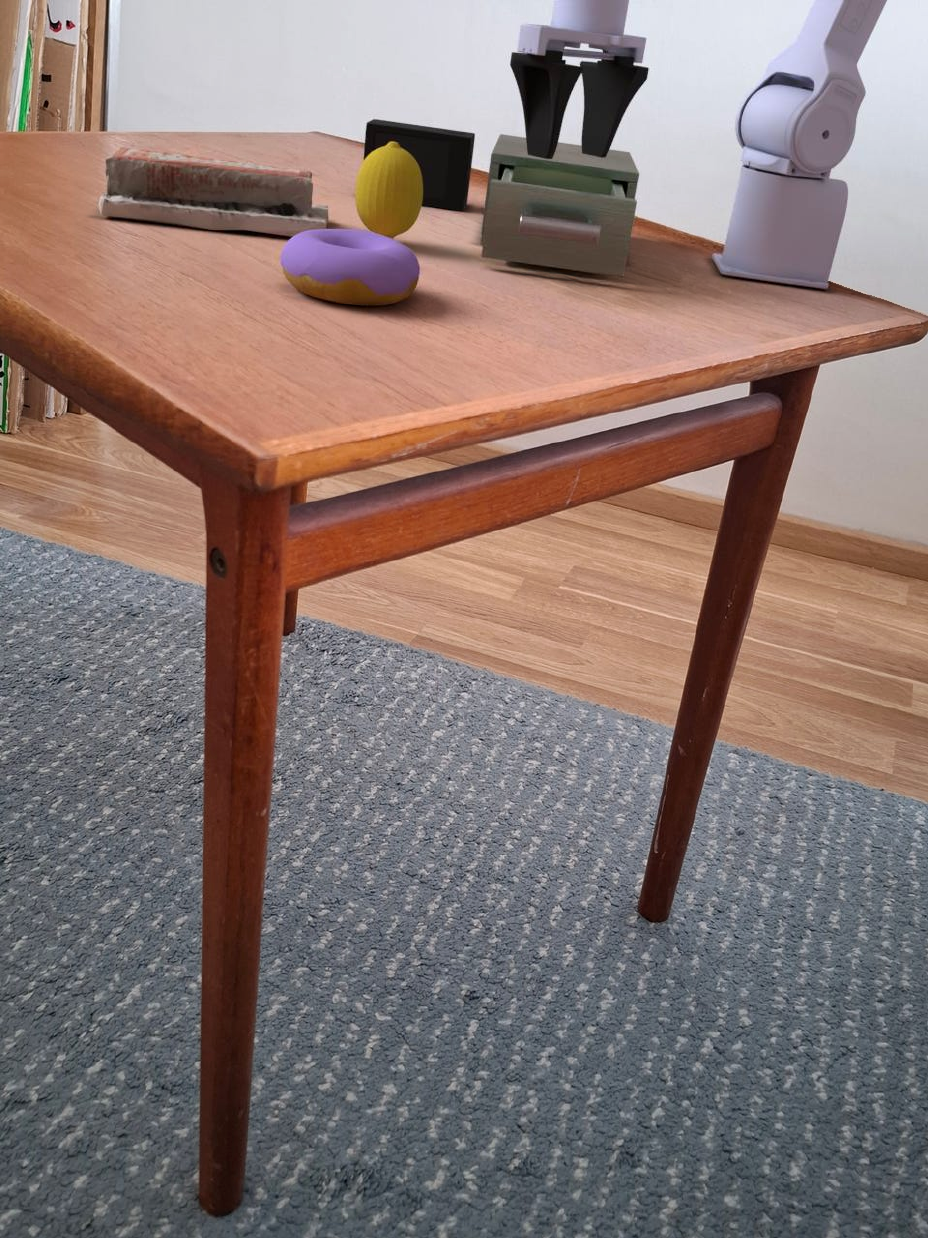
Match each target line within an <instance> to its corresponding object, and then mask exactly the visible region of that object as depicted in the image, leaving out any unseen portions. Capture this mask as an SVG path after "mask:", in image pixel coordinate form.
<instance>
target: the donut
mask: <svg viewBox="0 0 928 1238" xmlns="http://www.w3.org/2000/svg"><path fill="white" fill-rule="evenodd" d="M280 266H281V267H282V272H283V274H284V276H285V278H286V280H287V281H288V282H289V283H290V284H291V286H293V287H294V288H295V289H297V290H298V291H300V292H301V293H304V294H305V295H308V296H311V297H313V298H316V299H320V300H322V301H323V300H324V301H328V302H331V303H337V304H342V305H343V304H344V305H355V306H386V305H392V304H393V305H394V304H397V303H399V302H401V301H404V300H405V299H407V298H408V297H410V295H412V293H413V292H414V291H415V290H416V288H417V286H418V283H419V280H420V273H421V266H420V263H419V260H418V258H417V256H416V255H415V253H414V252H413V251H412V249H410V248H409V247H408V246H406V245H404V244H403V243H401V242H400V241H397V240H396V239H395V238H393V239H392V238H389V237H386V236H383V235H380V234H377V233H374V232H372V231H370V230H362V229H357V228H326V229H317V230H307V231H304V232H301V233H298V234H296V235H294V236H293V237H290V239H288V240H287V241H286V242H285V244H284V246H283V247H282V250H281V253H280Z"/></svg>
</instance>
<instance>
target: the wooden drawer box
mask: <svg viewBox="0 0 928 1238" xmlns="http://www.w3.org/2000/svg"><path fill="white" fill-rule="evenodd" d="M489 161H490V163H489V169H488V177H487V186H486V194H485V200H484V201H485V202H484V208H483V209H484V210H483V218H482V225H481V234H480V242H479V244H480V245H481V246H483V240H484V232H485V224H486V216H487V208H488V200H489V192H490V184H491V180H492V179H495V180H502V177H503V174H504V170H505V167H506V165H512V166H519V167H526V168H533V169H540V170H548V171H555V172H562V173H569V174H576V175H583V176H590V177H597V178H605V179H612V180H619V181H621V185H622V188H623V191H624V194H625V197H626V198H630V199H636V195H637V189H638V183H639V179H640V172H639V169H638V167H637V165H636V163H635V161H634V158H633V156H632V154H631V152H629V151H623V150H616V149H611V148H610V149H609V151H608V153H607V156H606V158H601V157H597V156H592V155H588V154H583V153H582V144H573V143H567V142H560V141H558V144H557V148H556V151H555V153H554V156H553V158H552V159H544V158H540V157H536V156H531V155H528V153H527V143H526V137H524V136H517V135H510V134H502V133H500V134H499V136H498V138H497V140H496V143H495V145H494V147H493V149H492V152H491V153H490V160H489Z"/></svg>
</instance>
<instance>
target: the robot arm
mask: <svg viewBox="0 0 928 1238" xmlns="http://www.w3.org/2000/svg"><path fill="white" fill-rule="evenodd" d="M887 2H888V0H813V2H812V4H811V7H810V9H809V11H808V12H807V15H806V18H805V20H804V22H803V25H802V27H801V29H800V31H799V33H798V36H797V37H796V39H795V41H794V42H793V43H792V44H790V45H789V46H787V48H785V49H784V50H782V51H781V52H780V53H779V54H777V56H775V57H774V58H773V59H772V60H770V61H769V62H768V64H767V67H766V69H765V71H764V73H763V75H762V77H761V78H760V80H759V81H758V83H756V85H755V86H754V87H753V88H751V90H750V91H748V93H747V94H746V95H745V96H744V97H743V99H742V101H741V102H740V105H739V106H738V108H737V111H736V116H735V121H734V130H735V136H736V140H737V141H738V142H737V143H738V144H739V146H740V147H741V149H742V153H741V157H740V161H741V162H742V164H743V165H741V169H740V173H739V178H738V182H737V186H736V192H735V196H734V200H733V205H732V209H731V215H730V218H729V223H728V228H727V233H726V238H725V242H724V246H723V251H722V253H715V252H714V253H712V255H711V258H712V261H713V262H714V264H715V265H716V267H717V270H718V271H719V273H720V274H721V275H724V276H730V277H736V278H743V279H751V280H758V281H765V282H771V283H772V282H773V283H779V284H788V285H793V286H801V287H808V288H814V289H821V290H828V289H829V286H830V284H829V279H830V274H831V272H832V267H833V263H834V260H835V255H836V253H837V252H836V251H837V248H838V244H839V241H840V236H841V232H842V228H843V225H844V221H845V218H846V214H847V206H848V198H849V186H848V184H847V182H846V181H844V180H843V179H838V178H830V176H831V173H832V169H835V168H836V167H837V166H838V165H839V164H840V163H841V162H842V161H843V160H844V159H845V158H846V156H847V155H848V153H849V151H850V149H851V147H852V145H853V142H854V139H855V135H856V128H857V118H858V114H859V110H860V108H861V105H862V103H863V100H864V99H865V97H866V94H867V93H866V88H865V84H864V82H863V79H862V77H861V74H860V72H859V69H858V63H859V61H860V58H861V56H862V55H863V52H864V51H865V49H866V46H867V44H868V41H869V40H870V38H871V35H872V33H873V31H874V30H875V27H876V25H877V23H878V21H879V19H880V16H881V14H882V12H883V10H884V8H885V6H886V4H887ZM629 3H630V0H553V4H552V5H553V6H552V12H551V19H550V25H545V24H532V23H520V26H519V33H518V42H517V49H516V51H517V52H515V51H513V52H511V55H510V61H509V66H510V69H511V70H512V73H513V76H514V78H515V82H516V84H517V89H518V93H519V95H520V101H521V105H522V106H521V107H522V111H523V112H522V113H523V120H524V121H523V122H524V128H525V129H524V131H525V138H526V143H527V153H528V155H531V156H536V157H540V158H544V159H552V158H553V156H554V153H555V151H556V148H557V144H558V142H559V139H560V136H561V135H560V134H561V130H562V126H563V120H564V117H565V112H566V109H567V106H568V105H569V101H570V98H571V96H572V94H573V93H572V92H573V91H574V89H575V87H576V84H577V82H578V80H579V78H580V76H581V79H582V87H583V116H582V127H581V140H580V141H581V143H580V145H582V153H583V154H588V155H592V156H597V157H601V158H606V156H607V153H608V151H609V149H610V150H611V147H612V144H613V141H614V138H615V136H616V134H617V132H618V129H619V127H620V125H621V122H622V120H623V117H624V116H625V113H626V112H627V109H628V107H630V104H631V102H632V100H633V99H634V98H635V96H636V94H637V93H638V91H639V90H640V89H641V87H642V86H643V85H644V84H645V83H646V81H647V80H648V76H649V70H650V68H649V67H647V66H641V65H635V64H643V60H644V54H645V48H646V43H647V37H643V36H638V35H632V34H631V35H630V34H625V28H626V22H627V16H628V10H629ZM582 44H584V45H587V47H588V48H589V49H594V50H595V51H594V50H583V49H581V45H582ZM566 47H567V48H566ZM570 48H572V49H570ZM596 50H601V51H596ZM563 57H567V58H579V59H580V58H581V59H592V60H593V59H595V60H597V61H589V60H587V61H586V60H581V61H580V62H579V65H574V64H568V63H567V60H566V59H563Z"/></svg>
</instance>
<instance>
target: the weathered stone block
mask: <svg viewBox="0 0 928 1238" xmlns="http://www.w3.org/2000/svg"><path fill="white" fill-rule="evenodd" d="M104 161H105V169H104V173H105V178H106V186H105V192H104V194H103V195H102V194H101V195H100V197H99V201H98V205H97V207H98V210H99V214H100V216H103V217H109V218H110V217H111V218H116V219H125V220H133V221H140V222H147V223H148V222H149V223H156V224H163V225H164V224H165V225H173V226H180V227H188V228H197V229H203V230H211V231H250V232H257V233H263V234H269V235H275V236H276V235H277V236H283V237H289V238H292V237H293V236H294V235H296V234H298V233H301V232H304V231H307V230H317V229H328V228H327V225H328V222H329V205H322V204H317V205H313V192H314V183H313V181H312V180H313V172H312V171H311V170H305V169H290V168H280V167H275V166H269V165H265V164H264V165H263V164H256V163H250V162H248V161H244V162H242V161H241V162H240V161H234V160H225V159H214V158H209V157H202V156H193V155H188V154H181V153H171V152H164V151H157V150H150V149H149V150H148V149H142V148H140V149H139V148H133V147H125V146H121V147H119V149H117V150H115V151H114V152H113V153H112V154H111V155H109V156H108V157H107V158H106V159H104Z"/></svg>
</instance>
